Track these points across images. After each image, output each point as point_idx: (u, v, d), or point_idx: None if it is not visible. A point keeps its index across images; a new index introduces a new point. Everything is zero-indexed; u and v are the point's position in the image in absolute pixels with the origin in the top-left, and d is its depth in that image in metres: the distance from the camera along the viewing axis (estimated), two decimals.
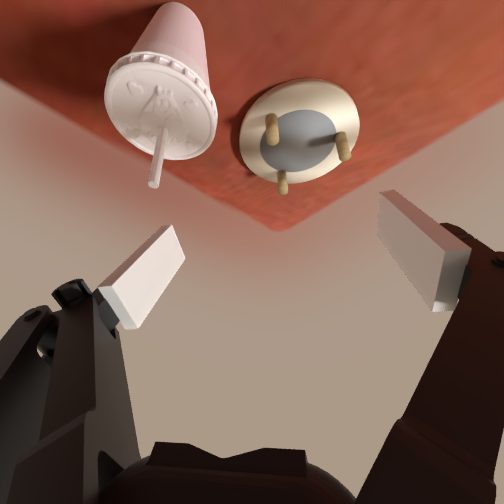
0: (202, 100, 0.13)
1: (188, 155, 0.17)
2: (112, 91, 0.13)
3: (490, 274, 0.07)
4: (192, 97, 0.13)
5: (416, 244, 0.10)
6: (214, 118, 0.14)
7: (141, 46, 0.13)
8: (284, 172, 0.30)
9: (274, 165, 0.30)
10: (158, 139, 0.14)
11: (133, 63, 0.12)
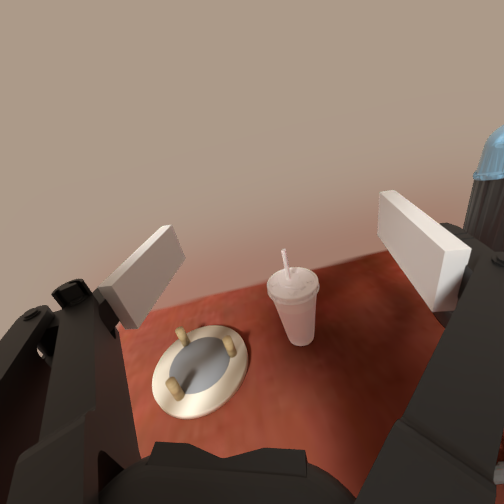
0: (291, 297, 0.27)
1: (269, 281, 0.30)
2: (312, 274, 0.30)
3: (490, 274, 0.07)
4: (294, 295, 0.27)
5: (416, 244, 0.10)
6: (280, 297, 0.27)
7: None
8: (186, 344, 0.35)
9: (197, 341, 0.36)
10: (289, 272, 0.29)
11: (317, 285, 0.28)
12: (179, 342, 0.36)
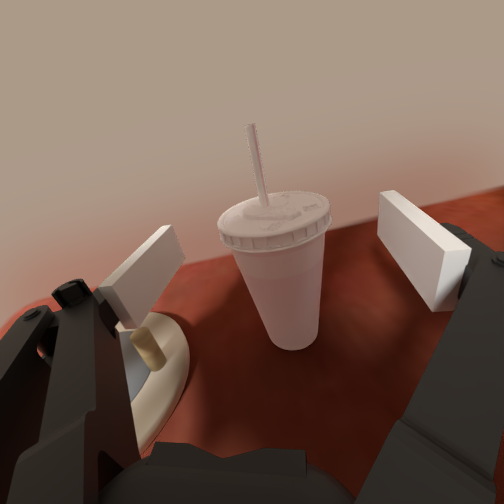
0: (264, 233, 0.11)
1: (226, 213, 0.15)
2: (317, 196, 0.14)
3: (490, 274, 0.07)
4: (272, 229, 0.11)
5: (416, 244, 0.10)
6: (239, 235, 0.11)
7: (323, 248, 0.13)
8: None
9: None
10: (265, 187, 0.13)
11: (327, 211, 0.12)
12: None
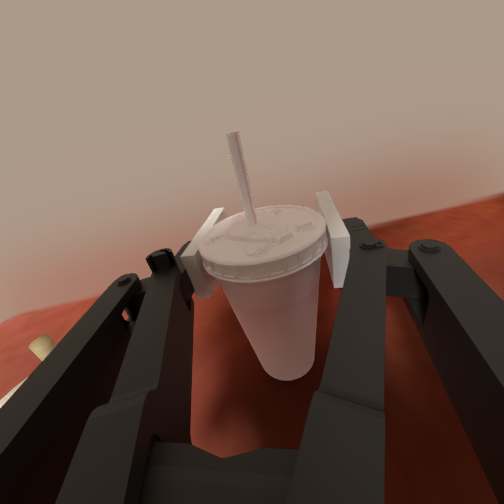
0: (249, 260, 0.10)
1: (210, 231, 0.13)
2: (311, 213, 0.12)
3: (360, 256, 0.09)
4: (259, 254, 0.10)
5: None
6: (220, 262, 0.10)
7: (319, 272, 0.12)
8: None
9: None
10: (253, 203, 0.12)
11: (322, 232, 0.10)
12: None
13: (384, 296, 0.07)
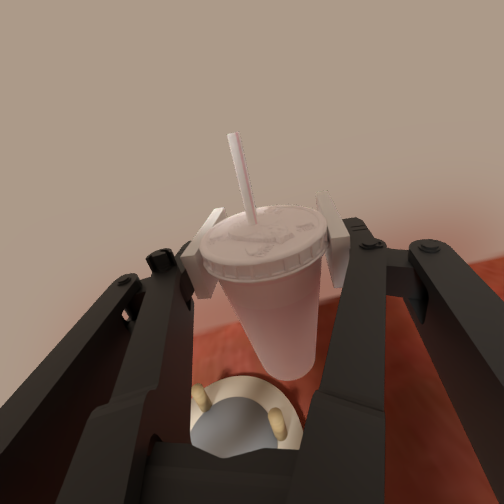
0: (250, 260, 0.09)
1: (211, 231, 0.13)
2: (312, 212, 0.12)
3: (360, 256, 0.09)
4: (260, 254, 0.10)
5: None
6: (221, 262, 0.10)
7: (320, 272, 0.12)
8: (206, 409, 0.24)
9: (222, 404, 0.24)
10: (254, 203, 0.12)
11: (324, 232, 0.10)
12: (195, 403, 0.25)
13: (384, 296, 0.07)
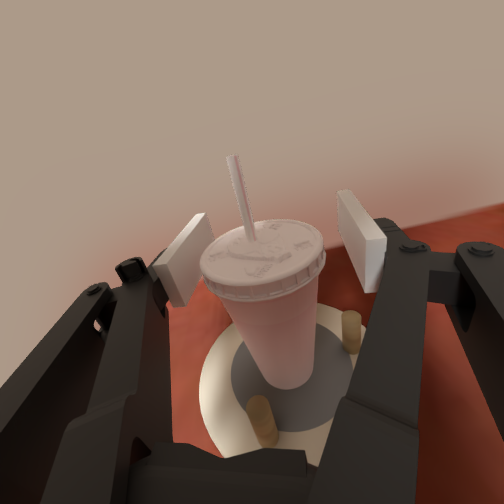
0: (249, 280, 0.10)
1: (211, 246, 0.13)
2: (309, 229, 0.12)
3: (399, 259, 0.08)
4: (258, 274, 0.10)
5: (355, 236, 0.11)
6: (221, 282, 0.10)
7: (317, 287, 0.12)
8: None
9: None
10: (252, 221, 0.12)
11: (320, 251, 0.11)
12: (236, 328, 0.21)
13: (425, 304, 0.06)
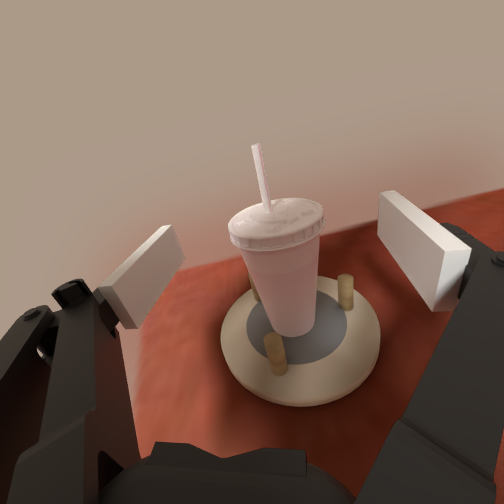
0: (269, 235, 0.13)
1: (235, 217, 0.17)
2: (312, 203, 0.16)
3: (490, 274, 0.07)
4: (276, 231, 0.14)
5: (416, 244, 0.10)
6: (248, 237, 0.14)
7: (318, 247, 0.16)
8: None
9: None
10: (269, 195, 0.16)
11: (321, 216, 0.14)
12: (248, 296, 0.24)
13: None
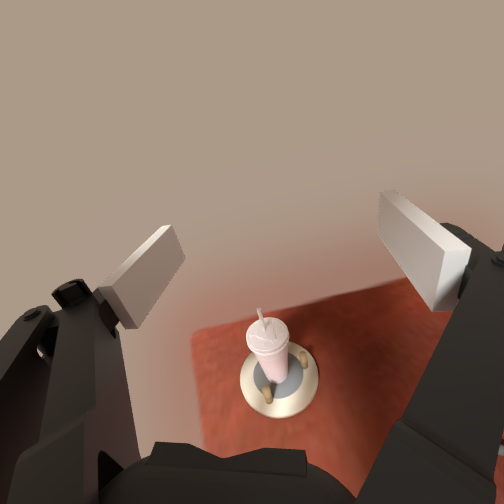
0: (264, 349, 0.33)
1: (249, 330, 0.36)
2: (284, 326, 0.36)
3: (490, 274, 0.07)
4: (267, 347, 0.33)
5: (416, 244, 0.10)
6: (255, 349, 0.33)
7: (286, 347, 0.35)
8: None
9: None
10: (264, 325, 0.35)
11: (286, 338, 0.34)
12: (254, 355, 0.44)
13: None
